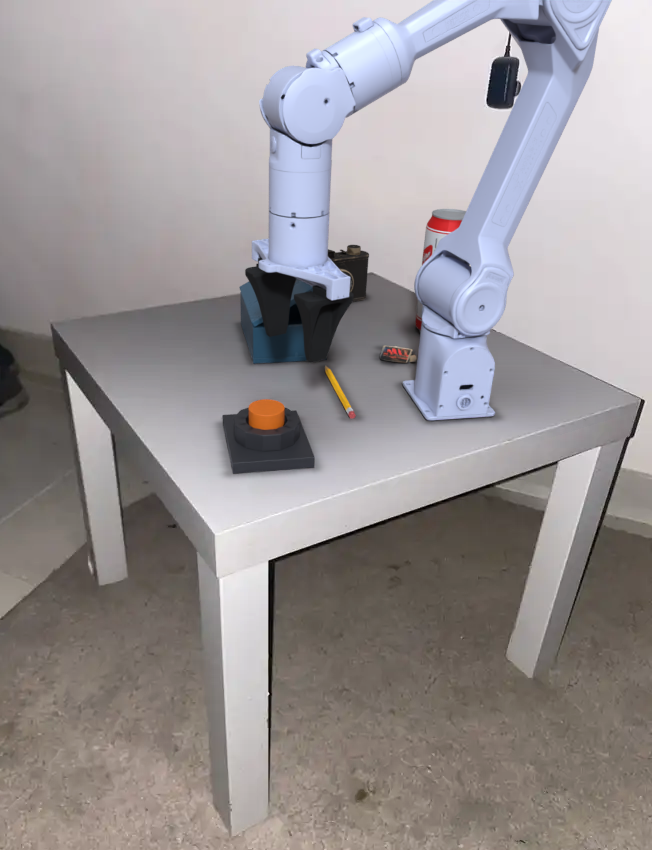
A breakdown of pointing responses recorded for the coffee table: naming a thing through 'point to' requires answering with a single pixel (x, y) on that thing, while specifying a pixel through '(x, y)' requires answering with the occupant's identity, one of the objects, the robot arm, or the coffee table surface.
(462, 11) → the robot arm
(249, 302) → the blue box lid
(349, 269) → the camera
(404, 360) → the matchbox
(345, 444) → the coffee table surface
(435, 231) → the beer can
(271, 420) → the button
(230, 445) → the control block
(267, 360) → the blue box
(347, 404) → the pencil
